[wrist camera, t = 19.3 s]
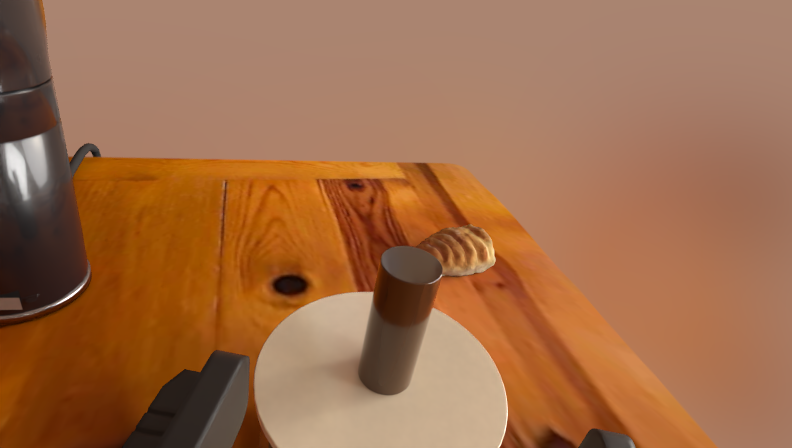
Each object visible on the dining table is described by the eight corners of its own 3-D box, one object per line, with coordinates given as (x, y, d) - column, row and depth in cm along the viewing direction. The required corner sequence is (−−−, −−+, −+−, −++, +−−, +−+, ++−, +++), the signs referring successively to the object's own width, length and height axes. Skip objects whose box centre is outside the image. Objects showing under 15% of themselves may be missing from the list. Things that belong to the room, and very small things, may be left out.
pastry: (434, 289, 47) (442, 259, 45) (398, 254, 52) (404, 225, 50) (496, 270, 53) (506, 242, 51) (458, 239, 57) (466, 213, 55)
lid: (239, 318, 28) (240, 195, 24) (435, 293, 34) (465, 191, 30) (278, 564, 18) (294, 423, 13) (553, 468, 23) (626, 349, 19)
